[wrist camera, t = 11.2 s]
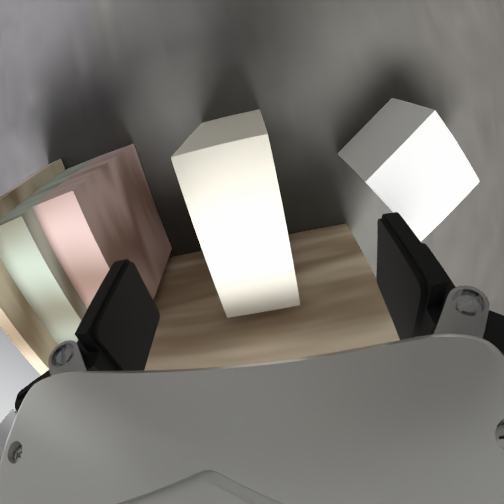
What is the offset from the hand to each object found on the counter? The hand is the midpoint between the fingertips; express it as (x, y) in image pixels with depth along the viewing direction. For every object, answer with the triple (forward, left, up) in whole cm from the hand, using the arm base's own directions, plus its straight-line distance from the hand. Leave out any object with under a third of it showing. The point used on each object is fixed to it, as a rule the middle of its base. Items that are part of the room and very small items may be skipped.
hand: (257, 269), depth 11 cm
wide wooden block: (0, -4, -12) cm, 13 cm away
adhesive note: (0, +10, -12) cm, 16 cm away
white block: (0, -1, -12) cm, 12 cm away
